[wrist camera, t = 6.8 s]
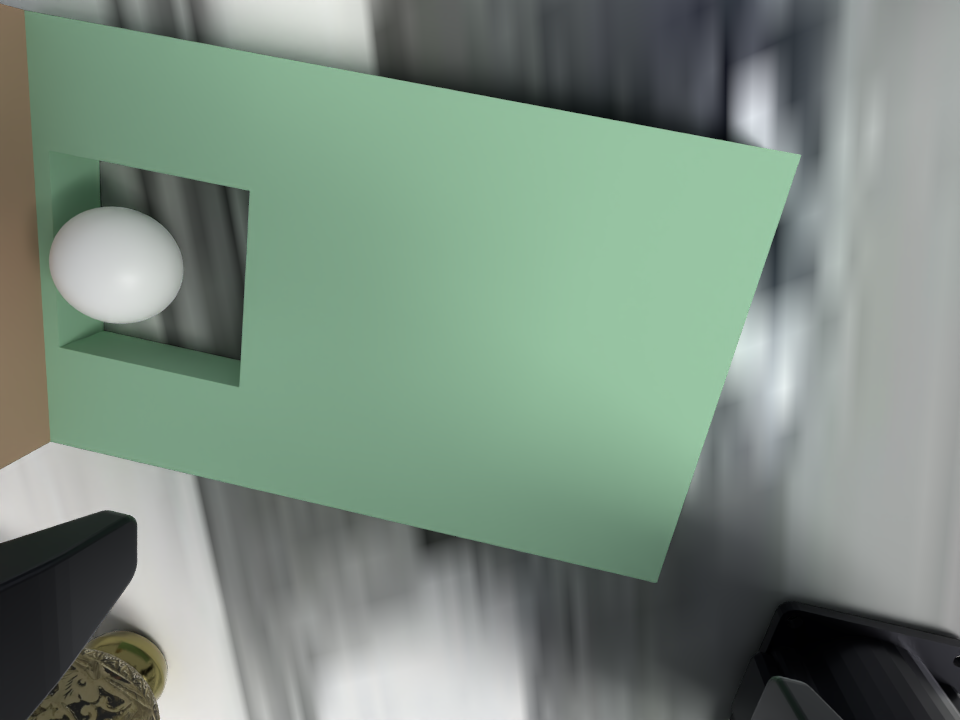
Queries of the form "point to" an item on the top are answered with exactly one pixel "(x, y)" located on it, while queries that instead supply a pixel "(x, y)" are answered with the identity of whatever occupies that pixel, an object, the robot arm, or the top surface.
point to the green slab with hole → (389, 290)
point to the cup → (109, 681)
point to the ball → (116, 265)
